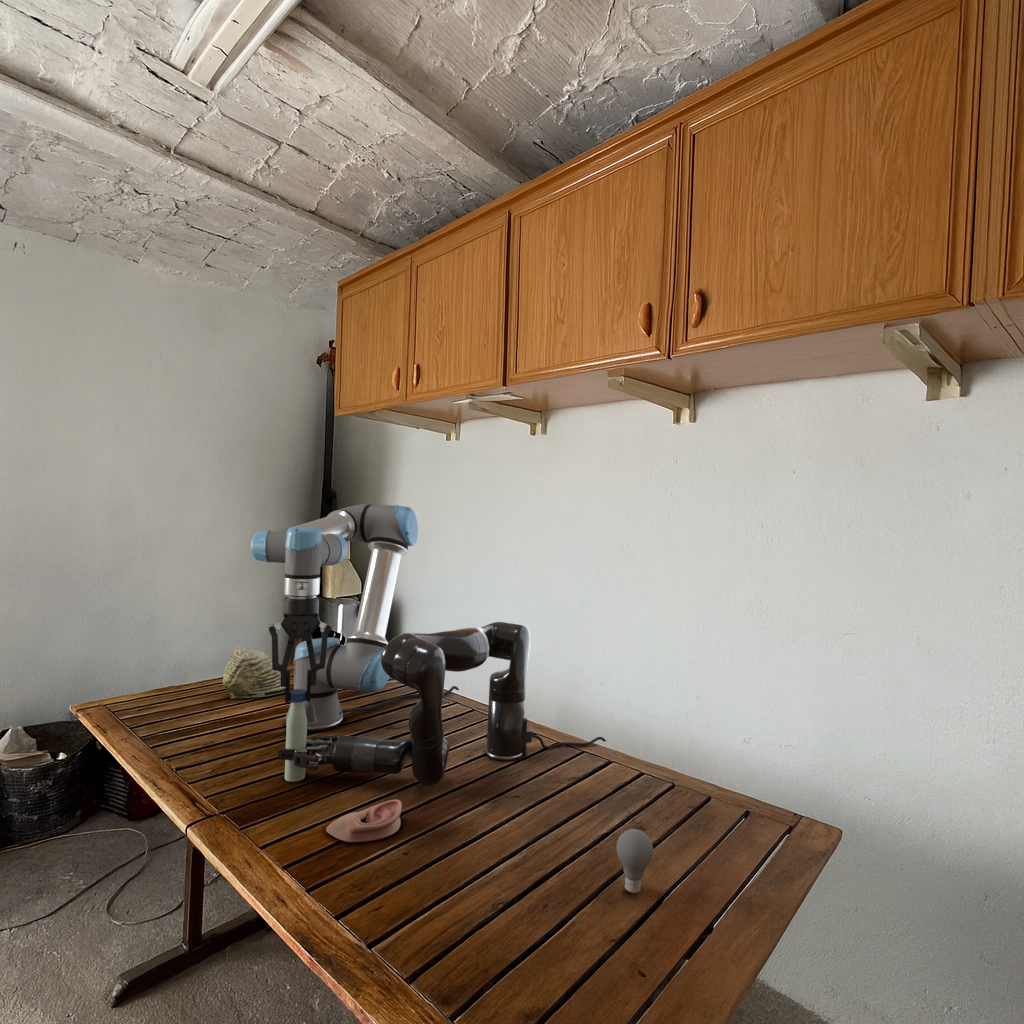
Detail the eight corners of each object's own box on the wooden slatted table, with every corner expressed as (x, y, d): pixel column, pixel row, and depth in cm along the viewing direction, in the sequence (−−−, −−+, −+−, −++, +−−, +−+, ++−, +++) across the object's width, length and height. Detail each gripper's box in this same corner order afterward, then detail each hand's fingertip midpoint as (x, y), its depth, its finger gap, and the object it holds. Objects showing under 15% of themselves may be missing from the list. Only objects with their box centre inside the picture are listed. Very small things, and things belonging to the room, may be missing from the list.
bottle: (284, 782, 140) (287, 699, 139) (284, 774, 144) (287, 693, 143) (305, 780, 141) (308, 698, 141) (304, 772, 145) (307, 692, 145)
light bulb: (610, 879, 108) (613, 822, 108) (644, 879, 109) (647, 822, 109) (619, 902, 102) (622, 840, 102) (655, 901, 103) (658, 840, 103)
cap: (310, 699, 143) (311, 690, 143) (298, 703, 139) (298, 695, 139) (297, 696, 145) (297, 687, 145) (284, 700, 141) (284, 692, 141)
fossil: (218, 695, 195) (220, 647, 195) (278, 685, 208) (279, 640, 207) (228, 703, 189) (230, 653, 188) (289, 692, 201) (290, 645, 201)
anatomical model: (318, 816, 117) (346, 789, 129) (317, 837, 118) (346, 808, 129) (385, 827, 115) (408, 798, 126) (384, 848, 115) (407, 818, 126)
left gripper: (259, 599, 135) (255, 707, 136) (341, 598, 140) (337, 703, 141) (262, 593, 143) (258, 697, 143) (340, 593, 148) (336, 693, 148)
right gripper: (368, 726, 148) (297, 721, 149) (348, 750, 134) (270, 744, 135) (367, 758, 148) (295, 753, 150) (347, 785, 134) (268, 779, 135)
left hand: (297, 700), depth 142 cm, fingers closed on cap, 4 cm apart
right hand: (284, 749), depth 142 cm, fingers closed on bottle, 4 cm apart
